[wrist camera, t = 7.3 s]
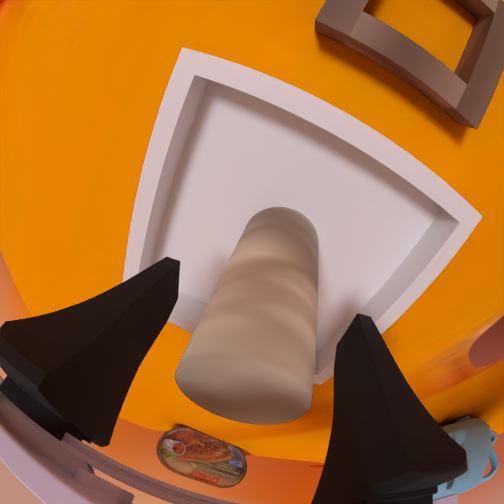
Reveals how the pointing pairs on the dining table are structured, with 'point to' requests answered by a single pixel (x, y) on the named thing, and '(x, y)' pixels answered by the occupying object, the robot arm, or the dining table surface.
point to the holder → (427, 55)
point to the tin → (201, 457)
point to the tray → (288, 197)
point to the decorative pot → (471, 454)
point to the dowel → (259, 326)
